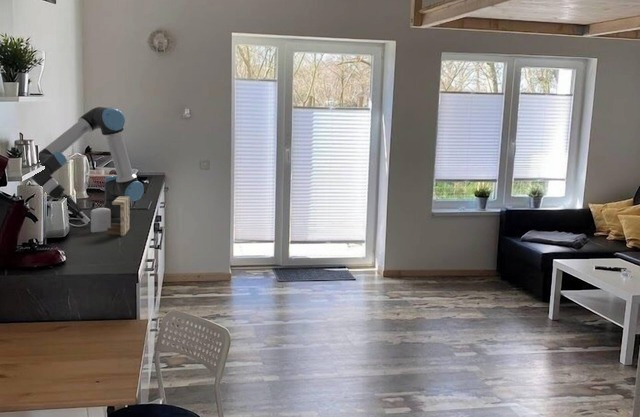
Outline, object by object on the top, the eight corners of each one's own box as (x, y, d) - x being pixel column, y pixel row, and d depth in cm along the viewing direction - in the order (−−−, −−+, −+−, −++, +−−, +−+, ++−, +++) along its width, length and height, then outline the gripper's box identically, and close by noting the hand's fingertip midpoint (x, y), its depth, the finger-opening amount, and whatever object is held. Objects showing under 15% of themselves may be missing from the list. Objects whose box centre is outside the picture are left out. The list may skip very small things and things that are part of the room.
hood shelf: (113, 228, 332) (112, 196, 329) (129, 228, 333) (129, 196, 330) (106, 235, 314) (106, 202, 311) (123, 235, 315) (123, 202, 312)
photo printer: (108, 229, 328) (108, 206, 325) (112, 231, 325) (112, 207, 322) (89, 231, 321) (89, 208, 318) (93, 233, 318) (92, 209, 315)
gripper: (52, 191, 321) (86, 224, 326) (44, 196, 308) (79, 229, 313) (62, 182, 321) (96, 214, 326) (55, 185, 308) (90, 219, 313)
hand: (88, 222), depth 320 cm, fingers closed
